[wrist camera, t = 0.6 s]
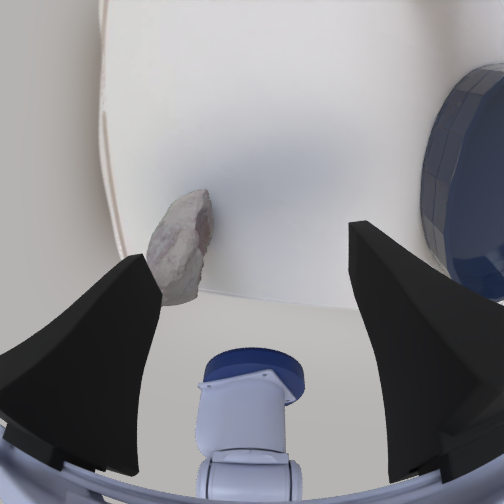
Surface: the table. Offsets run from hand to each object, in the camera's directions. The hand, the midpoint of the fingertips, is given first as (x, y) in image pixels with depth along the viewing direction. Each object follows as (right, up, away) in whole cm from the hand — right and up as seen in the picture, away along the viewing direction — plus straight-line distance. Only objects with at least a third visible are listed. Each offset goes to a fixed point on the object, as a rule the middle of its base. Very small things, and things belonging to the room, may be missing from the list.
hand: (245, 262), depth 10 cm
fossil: (-4, +3, +11) cm, 12 cm away
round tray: (+24, +7, +7) cm, 26 cm away
